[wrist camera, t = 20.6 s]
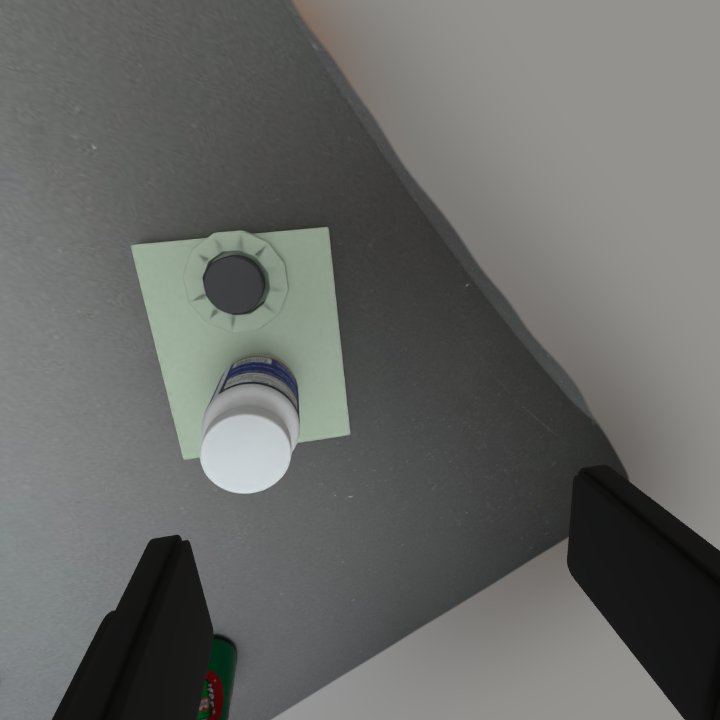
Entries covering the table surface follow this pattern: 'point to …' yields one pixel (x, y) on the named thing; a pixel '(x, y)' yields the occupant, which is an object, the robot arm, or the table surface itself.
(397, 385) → the table surface
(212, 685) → the soda can
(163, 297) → the scale
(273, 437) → the pill bottle
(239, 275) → the button
